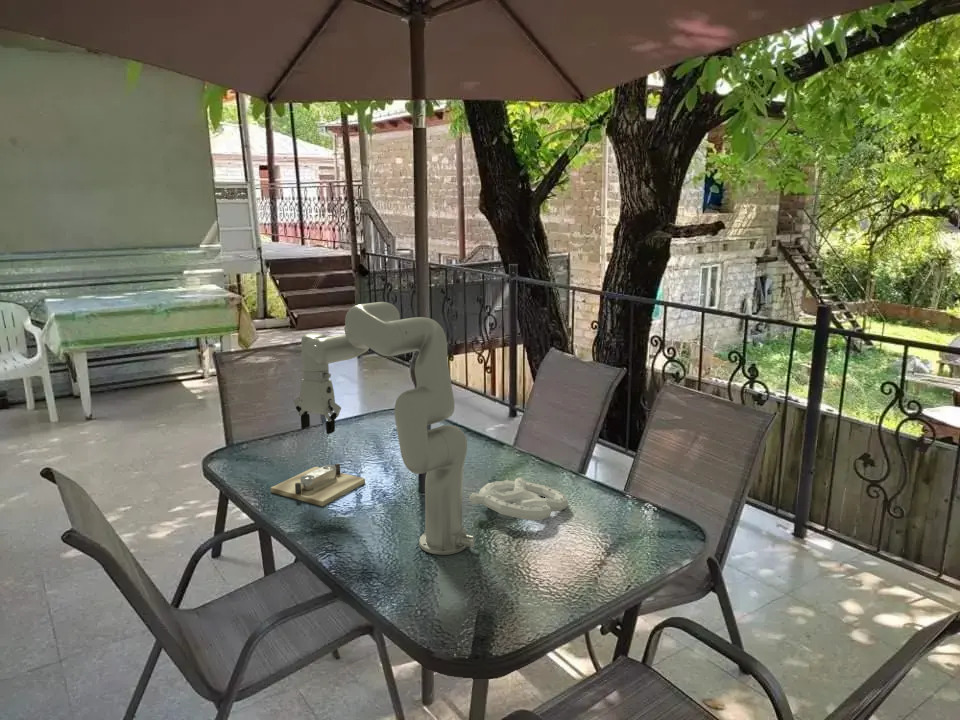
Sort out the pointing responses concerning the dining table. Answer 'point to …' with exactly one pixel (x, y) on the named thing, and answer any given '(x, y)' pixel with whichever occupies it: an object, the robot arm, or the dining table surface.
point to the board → (322, 493)
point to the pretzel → (520, 499)
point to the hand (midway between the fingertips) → (318, 430)
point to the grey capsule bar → (318, 478)
